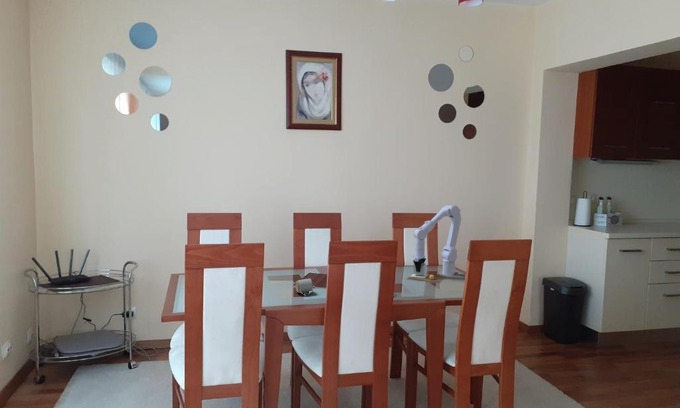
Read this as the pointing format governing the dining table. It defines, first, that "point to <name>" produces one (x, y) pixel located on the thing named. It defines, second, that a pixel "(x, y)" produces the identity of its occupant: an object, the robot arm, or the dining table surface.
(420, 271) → the light blue cube
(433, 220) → the robot arm
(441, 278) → the board
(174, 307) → the dining table surface
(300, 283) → the ceramic mug
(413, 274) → the pad
